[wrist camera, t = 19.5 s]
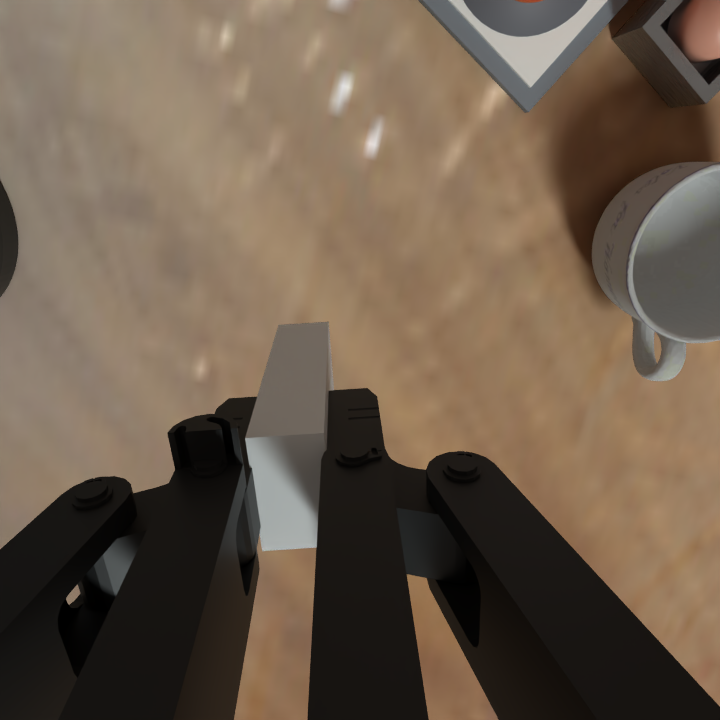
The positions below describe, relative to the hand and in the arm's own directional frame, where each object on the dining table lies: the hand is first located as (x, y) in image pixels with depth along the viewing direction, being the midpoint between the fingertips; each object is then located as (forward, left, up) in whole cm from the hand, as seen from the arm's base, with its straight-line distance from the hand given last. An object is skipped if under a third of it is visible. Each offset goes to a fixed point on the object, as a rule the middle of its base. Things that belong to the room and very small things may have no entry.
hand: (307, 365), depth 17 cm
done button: (+8, +24, -22) cm, 34 cm away
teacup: (+18, +13, -24) cm, 33 cm away
